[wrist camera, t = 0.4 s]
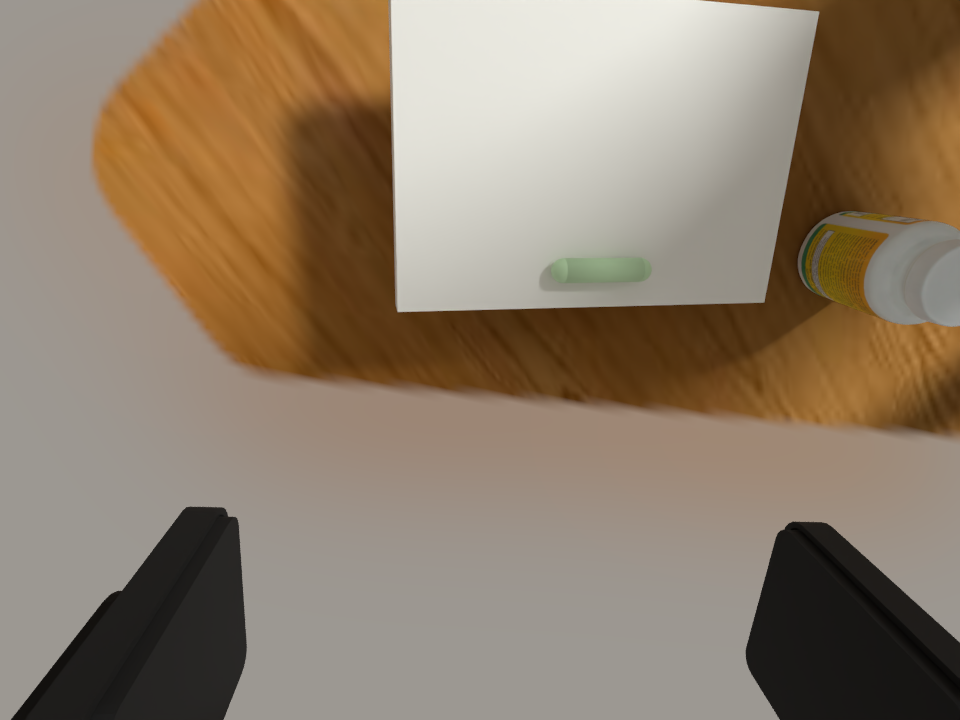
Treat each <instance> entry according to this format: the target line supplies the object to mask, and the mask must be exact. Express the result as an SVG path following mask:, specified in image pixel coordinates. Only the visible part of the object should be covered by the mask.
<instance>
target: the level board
mask: <svg viewBox="0 0 960 720" xmlns="http://www.w3.org/2000/svg"><path fill="white" fill-rule="evenodd" d="M388 1H389V44H390V88H391V131H392V175H393V219H394V262H395V305H396V308H397V312H419V311H458V310H497V309H535V308H574V307H613V306H652V305H691V304H730V303H764V302H765V296H766V291H767V286H768V280H769V275H770V270H771V265H772V259H773V254H774V249H775V243H776V238H777V233H778V228H779V222H780V217H781V212H782V206H783V201H784V196H785V191H786V185H787V180H788V175H789V169H790V164H791V159H792V154H793V148H794V143H795V138H796V132H797V127H798V122H799V117H800V111H801V106H802V101H803V95H804V90H805V85H806V80H807V74H808V69H809V64H810V58H811V53H812V48H813V43H814V37H815V32H816V27H817V21H818V16H819V12H818V11H808V10H797V9H786V8H775V7H765V6H754V5H743V4H733V3H722V2H711V1H700V0H388Z"/></svg>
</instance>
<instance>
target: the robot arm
mask: <svg viewBox="0 0 960 720" xmlns="http://www.w3.org/2000/svg"><path fill="white" fill-rule="evenodd" d="M244 615H245V614H244V601H243V584H242V569H241V554H240V539H239V525H238V520H237V518H236V517H228V515H227V512H226V510H225V509H224V508H220V507H218V508H217V507H186V508H185V509H184V510H183V511H182V512H181V514H180V515H179V516H178V518H177V519H176V520H175V522H174V523H173V524H172V526H171V527H170V528H169V530H168V531H167V532H166V534H165V535H164V536H163V538H162V539H161V540H160V542H159V543H158V544H157V545H156V547H155V548H154V549H153V551H152V552H151V553H150V555H149V556H148V557H147V559H146V560H145V561H144V563H143V564H142V565H141V567H140V568H139V569H138V571H137V572H136V573H135V575H134V576H133V577H132V579H131V580H130V581H129V582H128V584H127V585H126V587H125V588H124V589H123V590H122V591H117V592H114V593H112V594H111V595H109V597H108V598H106V600H104V602H103V603H102V604H101V605H100V607H99V608H98V609H97V610H96V612H95V613H94V614H93V616H92V617H91V618H90V619H89V621H88V622H87V623H86V625H85V626H84V627H83V628H82V630H81V631H80V632H79V633H78V635H77V636H76V637H75V638H74V640H73V641H72V642H71V644H70V645H69V646H68V647H67V649H66V650H65V651H64V653H63V654H62V655H61V656H60V658H59V659H58V660H57V662H56V663H55V664H54V665H53V667H52V668H51V669H50V671H49V672H48V673H47V675H46V676H45V677H44V678H43V679H42V681H41V682H40V683H39V685H38V686H37V687H36V688H35V690H34V691H33V692H32V694H31V695H30V696H29V698H28V699H27V700H26V701H25V702H24V704H23V705H22V707H21V708H20V709H19V710H18V712H17V713H16V714H15V715H14V717H13V718H12V719H11V720H223V719H224V717H225V714H226V712H227V709H228V707H229V704H230V702H231V699H232V697H233V694H234V691H235V689H236V686H237V684H238V681H239V679H240V676H241V674H242V671H243V668H244V664H245V659H246V648H247V646H246V645H247V644H246V629H245V616H244ZM746 660H747V665H748V668H749V670H750V672H751V674H752V675H753V677H754V679H755V680H756V682H757V683H758V685H759V687H760V688H761V690H762V692H763V693H764V695H765V696H766V698H767V700H768V701H769V703H770V704H771V706H772V708H773V709H774V711H775V712H776V714H777V716H778V717H779V719H780V720H960V643H959V642H958V641H957V640H956V639H955V638H954V637H953V636H952V635H951V634H950V633H948V632H947V631H946V630H945V629H944V628H943V627H942V626H941V625H940V624H939V623H937V622H936V621H935V620H934V619H933V618H932V617H931V616H930V615H929V614H927V613H926V612H925V611H924V610H923V609H922V608H921V607H920V606H919V605H917V604H916V603H915V602H914V601H913V600H912V599H911V598H910V597H909V596H908V595H906V594H905V593H904V592H903V591H902V590H901V589H900V588H899V587H898V586H897V585H895V584H894V583H893V582H892V581H891V580H890V579H889V578H888V577H887V576H886V575H884V574H883V573H882V572H881V571H880V570H879V569H878V568H877V567H876V566H874V565H873V564H872V563H871V562H870V561H869V560H868V559H867V558H866V557H865V556H863V555H862V554H861V553H860V552H859V551H858V550H857V549H856V548H854V547H853V546H852V545H851V544H850V543H849V542H848V541H847V540H846V539H845V538H843V537H842V536H841V535H840V534H839V533H838V532H837V531H836V530H835V529H834V528H832V527H831V526H830V525H828V524H827V523H822V522H791V523H789V524H788V525H787V526H786V527H785V530H782V531H780V532H779V533H778V534H777V537H776V540H775V543H774V547H773V551H772V554H771V558H770V562H769V566H768V569H767V573H766V577H765V581H764V584H763V588H762V591H761V595H760V599H759V603H758V606H757V610H756V614H755V617H754V621H753V625H752V628H751V632H750V636H749V640H748V643H747V647H746Z"/></svg>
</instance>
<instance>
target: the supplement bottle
mask: <svg viewBox="0 0 960 720" xmlns="http://www.w3.org/2000/svg"><path fill="white" fill-rule="evenodd" d="M798 270H799V274H800V277H801V279H802V281H803V283H804V284H805V286H806V287H807V288H808V289H810V290H811V291H812V292H814V293H816V294H818V295H820V296H822V297H825V298H828V299H830V300H833V301H836V302H838V303H841V304H843V305H846V306H849V307H851V308H854V309H857V310H859V311H862V312H865V313H867V314H870V315H873V316H876V317H879V318H881V319H883V320H886V321H889V322H893V323H897V324H919V323H924V322H927V321H928V322H932V323H935V324H939V325H943V326H953V327H954V326H960V231H959V230H958V229H956V228H954V227H952V226H950V225H948V224H945V223H941V222H935V221H929V220H921V219H914V218H906V217H897V216H890V215H882V214H876V213H866V212H857V211H846V212H840V213H836V214H833V215H831V216H829V217H827V218H825V219H823V220H822V221H821V222H819V223H818V224H817V225H816V226H815V227H814V228H813V229H812V230H811V231H810V232H809V234H808V235H807V237H806V239H805V240H804V242H803V244H802V246H801V249H800V252H799V256H798Z"/></svg>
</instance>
